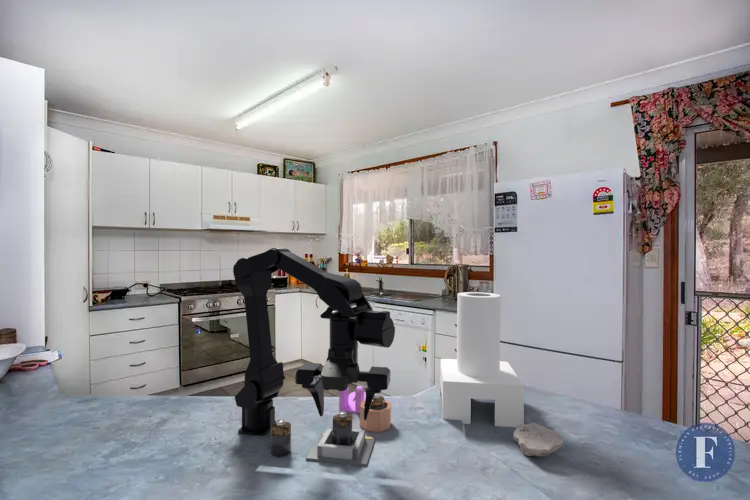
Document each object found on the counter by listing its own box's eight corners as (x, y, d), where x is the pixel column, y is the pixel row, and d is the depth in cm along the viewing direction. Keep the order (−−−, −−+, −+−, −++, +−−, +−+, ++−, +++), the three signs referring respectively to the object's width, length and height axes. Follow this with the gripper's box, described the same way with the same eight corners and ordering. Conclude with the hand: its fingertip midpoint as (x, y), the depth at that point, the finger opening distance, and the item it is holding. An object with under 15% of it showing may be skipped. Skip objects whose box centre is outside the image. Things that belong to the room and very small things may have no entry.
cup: (357, 433, 86) (358, 409, 86) (363, 419, 93) (363, 397, 93) (388, 436, 85) (388, 412, 85) (392, 422, 92) (392, 399, 92)
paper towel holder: (440, 392, 111) (441, 289, 110) (507, 396, 108) (508, 291, 108) (442, 422, 92) (443, 298, 92) (523, 428, 89) (525, 300, 89)
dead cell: (365, 427, 87) (365, 397, 87) (368, 419, 91) (369, 390, 91) (382, 429, 86) (383, 398, 86) (385, 421, 90) (385, 391, 90)
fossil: (531, 453, 73) (507, 412, 82) (526, 476, 76) (504, 434, 85) (573, 446, 74) (545, 407, 83) (567, 469, 77) (541, 429, 86)
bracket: (360, 417, 95) (360, 389, 95) (339, 415, 96) (339, 387, 96) (371, 396, 107) (371, 372, 107) (352, 395, 108) (352, 371, 108)
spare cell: (267, 460, 75) (267, 424, 75) (275, 449, 79) (275, 415, 79) (286, 462, 74) (286, 426, 74) (293, 451, 78) (294, 417, 78)
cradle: (305, 464, 74) (305, 447, 74) (321, 438, 84) (321, 423, 84) (366, 470, 72) (366, 453, 72) (375, 443, 82) (375, 428, 82)
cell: (329, 451, 76) (330, 416, 76) (335, 441, 80) (335, 408, 80) (349, 453, 75) (349, 418, 75) (353, 443, 79) (354, 409, 79)
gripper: (284, 349, 71) (284, 432, 71) (383, 354, 68) (382, 441, 68) (305, 335, 82) (304, 407, 82) (390, 339, 79) (390, 414, 79)
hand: (343, 417), depth 78 cm, fingers open, 9 cm apart
